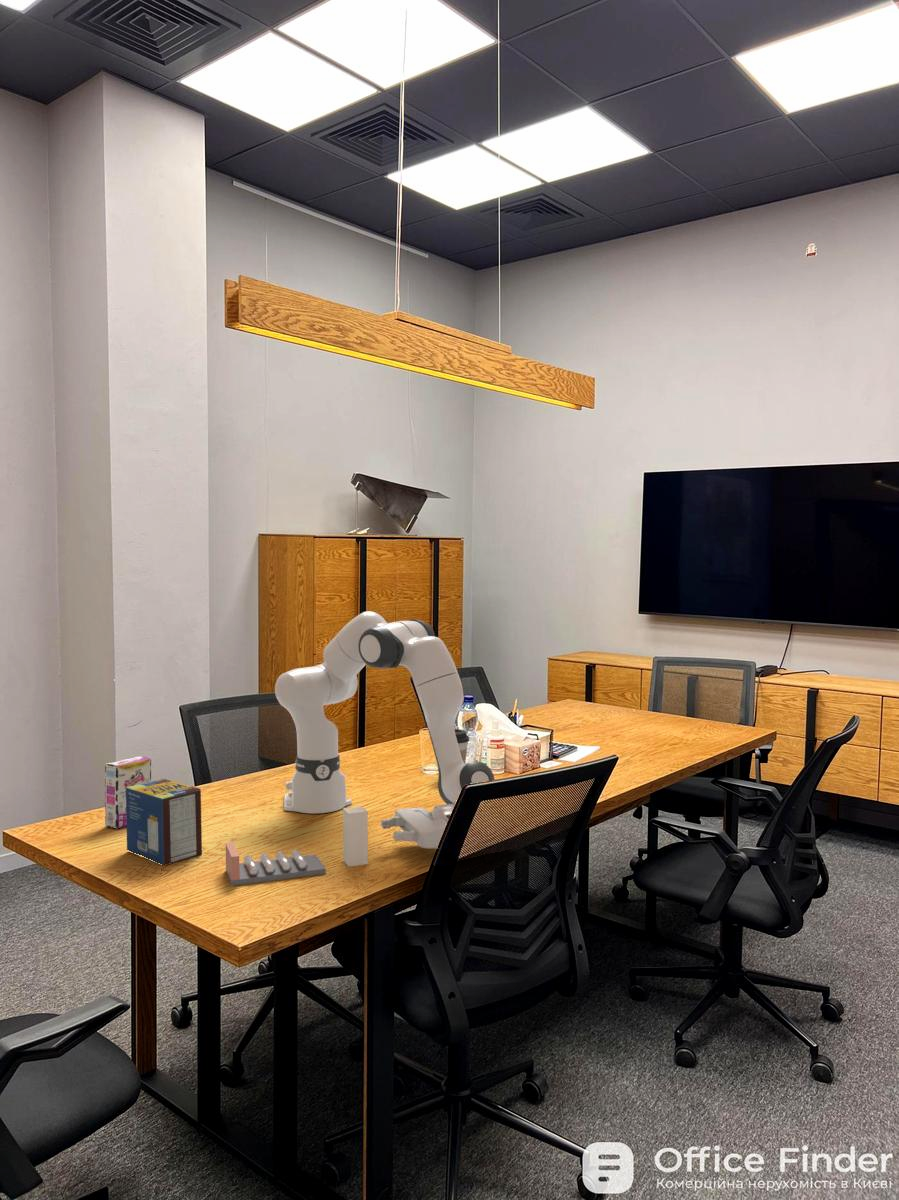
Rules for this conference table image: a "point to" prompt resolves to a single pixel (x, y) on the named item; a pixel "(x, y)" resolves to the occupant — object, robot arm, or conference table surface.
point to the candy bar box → (123, 786)
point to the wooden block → (355, 836)
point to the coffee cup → (462, 742)
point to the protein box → (164, 821)
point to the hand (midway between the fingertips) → (387, 830)
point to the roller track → (279, 871)
